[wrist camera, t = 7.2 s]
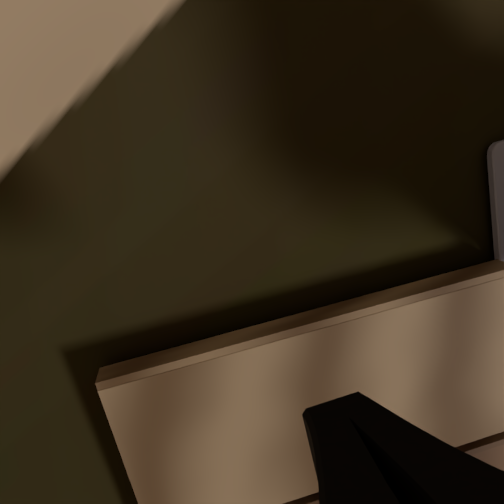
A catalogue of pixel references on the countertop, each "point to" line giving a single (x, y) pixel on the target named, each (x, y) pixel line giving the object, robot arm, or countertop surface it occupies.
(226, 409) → the plank
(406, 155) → the countertop surface
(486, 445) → the laid board
